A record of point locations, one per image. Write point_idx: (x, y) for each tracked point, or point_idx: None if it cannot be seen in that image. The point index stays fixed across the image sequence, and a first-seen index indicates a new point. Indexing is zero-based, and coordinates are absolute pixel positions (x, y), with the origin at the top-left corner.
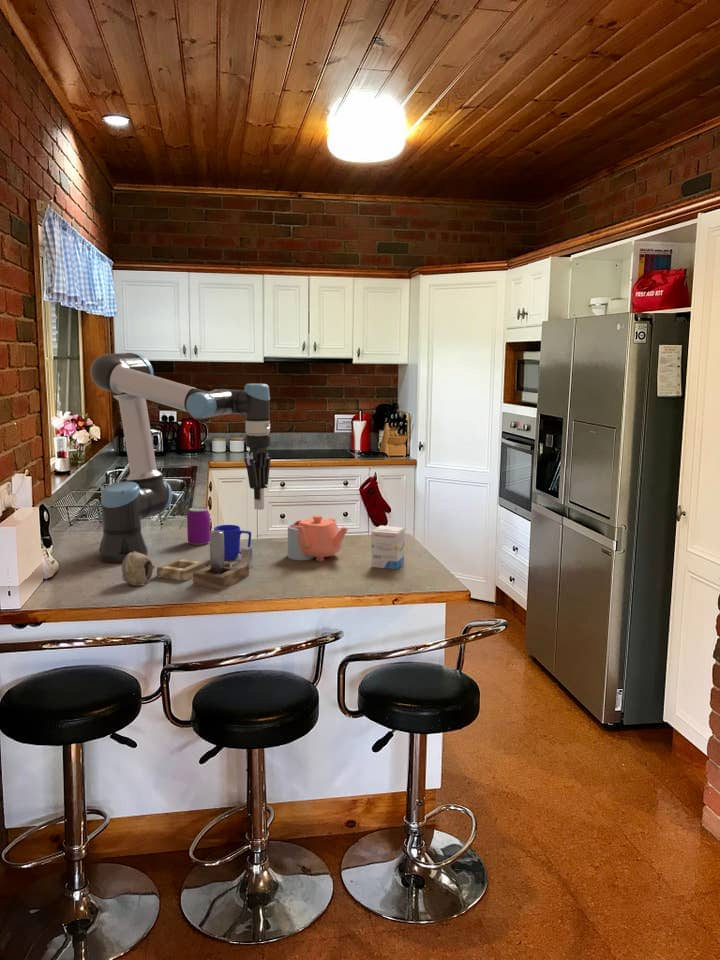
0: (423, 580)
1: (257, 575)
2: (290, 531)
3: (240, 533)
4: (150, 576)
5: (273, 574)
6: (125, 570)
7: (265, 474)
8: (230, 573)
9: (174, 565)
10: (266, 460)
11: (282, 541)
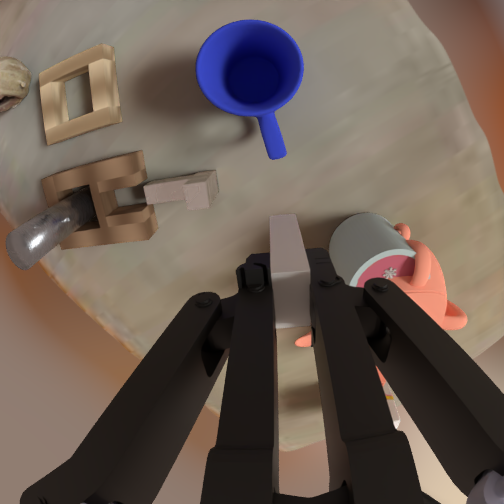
0: (302, 430)
1: (173, 241)
2: (350, 272)
3: (259, 123)
4: (21, 97)
5: (200, 266)
6: None
7: (397, 378)
8: (83, 245)
9: (77, 70)
10: (471, 478)
11: (459, 135)
